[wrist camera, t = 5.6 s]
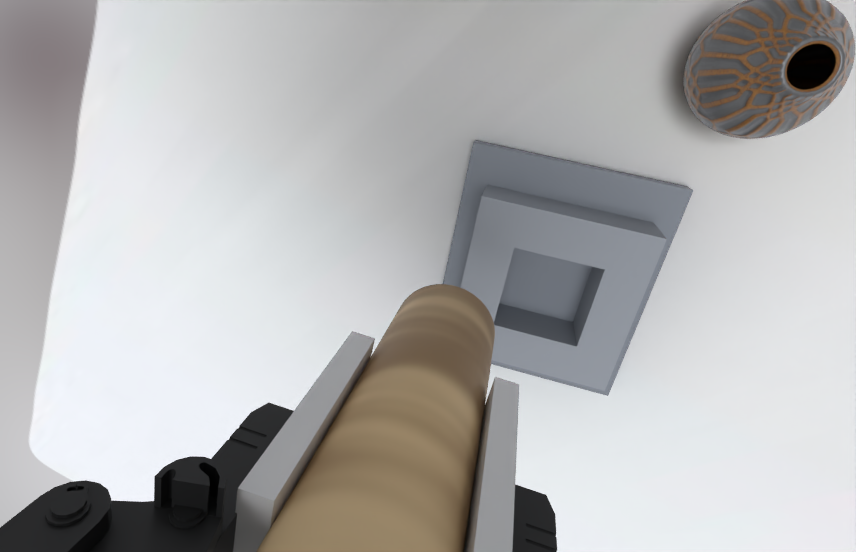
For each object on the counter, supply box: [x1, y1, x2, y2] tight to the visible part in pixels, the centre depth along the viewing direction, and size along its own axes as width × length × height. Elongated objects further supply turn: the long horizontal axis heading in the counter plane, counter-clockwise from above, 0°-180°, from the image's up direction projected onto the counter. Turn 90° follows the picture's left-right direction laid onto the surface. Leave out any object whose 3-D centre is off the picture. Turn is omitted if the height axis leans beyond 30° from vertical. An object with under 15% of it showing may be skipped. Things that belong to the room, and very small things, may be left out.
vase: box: [684, 0, 855, 139], centre depth 24 cm, size 7×7×9 cm
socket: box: [443, 140, 693, 396], centre depth 33 cm, size 16×14×5 cm
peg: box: [256, 284, 495, 552], centre depth 14 cm, size 4×4×12 cm
